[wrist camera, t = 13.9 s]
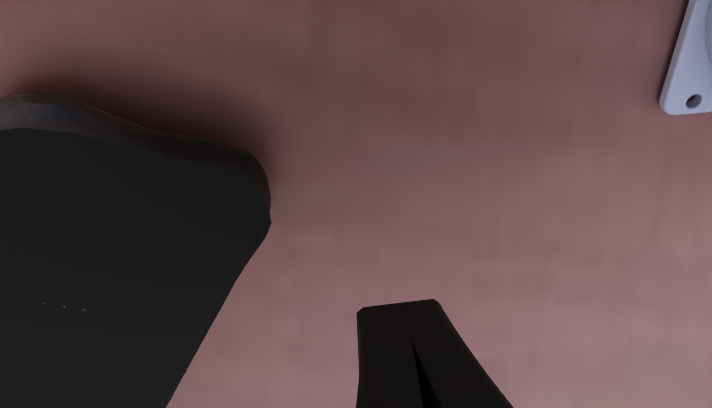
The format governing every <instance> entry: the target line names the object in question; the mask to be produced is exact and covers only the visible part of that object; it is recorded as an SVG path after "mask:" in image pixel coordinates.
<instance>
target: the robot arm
mask: <svg viewBox="0 0 712 408" xmlns="http://www.w3.org/2000/svg"><path fill="white" fill-rule="evenodd" d="M692 95H695V96H694V98H693V99H692V100H691V101H690V102H687V100H688V98H690V97H691V96H692ZM686 102H687V103H686ZM659 105H660V107H661V109H663V110H664V111H665V112H666V113H667V114H669V115H684V114H696V113H708V112H712V0H689V3H688V6H687V10H686V13H685V16H684V20H683V23H682V26H681V30H680V33H679V36H678V40H677V43H676V46H675V50H674V53H673V56H672V59H671V63H670V66H669V69H668V73H667V76H666V79H665V83H664V86H663V89H662V93H661V96H660V100H659ZM357 333H358V357H359V385H358V394H357V403H356V408H513V406H512V405H511V404H510V403H509V401H508V400H507V399H506V398H505V396H504V395H503V394H502V392H501V391H500V390H499V389H498V387H497V386H496V385H495V384H494V382H493V381H492V380H491V379H490V377H489V376H488V375H487V373H486V372H485V371H484V369H483V368H482V366H481V365H480V364H479V362H478V361H477V360H476V358H475V357H474V355H473V354H472V353H471V351H470V350H469V348H468V347H467V346H466V344H465V343H464V341H463V340H462V338H461V337H460V335H459V334H458V332H457V331H456V329H455V328H454V326H453V325H452V323H451V322H450V320H449V318H448V317H447V315H446V314H445V312H444V310H443V309H442V307H441V305H440V303H438V302H437V301H436V300H434V299H428V300H420V301H412V302H404V303H395V304H387V305H379V306H370V307H363V308H362V309H361V310H359V311H358V312H357Z"/></svg>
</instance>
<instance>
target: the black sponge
mask: <svg viewBox="0 0 712 408" xmlns="http://www.w3.org/2000/svg"><path fill="white" fill-rule="evenodd" d="M270 208H271V195H270V190H269V185H268V180H267V177H266V175H265V172H264V170H263V168H262V166H261V164H260V163H259V161H258V160H257V159H256V158H255V157H254V156H253V155H251V154H250V153H248V152H246V151H244V150H242V149H238V148H235V147H231V146H228V145H225V144H222V143H219V142H217V141H214V140H212V139H206V138H201V137H196V136H190V135H185V134H179V133H173V132H166V131H159V130H154V129H151V128H148V127H144V126H141V125H137V124H135V123H133V122H131V121H129V120H127V119H124V118H121V117H118V116H115V115H113V114H110V113H107V112H105V111H102V110H100V109H97V108H95V107H93V106H91V105H89V104H87V103H85V102H83V101H81V100H80V99H78V98H76V97H75V96H73V95H69V94H65V93H31V94H15V95H8V96H6V97H4V98H2V99H0V408H166V406H167V404H168V403H169V401H170V399H171V397H172V396H173V394H174V392H175V390H176V388H177V386H178V384H179V382H180V381H181V379H182V377H183V375H184V374H185V372H186V370H187V368H188V366H189V365H190V363H191V361H192V359H193V357H194V356H195V354H196V352H197V350H198V348H199V346H200V345H201V343H202V341H203V339H204V337H205V336H206V334H207V332H208V330H209V328H210V327H211V325H212V323H213V321H214V320H215V318H216V316H217V314H218V313H219V311H220V309H221V307H222V305H223V303H224V302H225V300H226V298H227V296H228V294H229V292H230V290H231V289H232V287H233V285H234V283H235V281H236V280H237V278H238V277H239V275H240V274H241V272H242V270H243V269H244V267H245V266H246V264H247V263H248V261H249V260H250V258H251V257H252V255H253V254H254V252H255V251H256V250H257V248H258V247H259V246H260V244H261V243H262V242H263V240H264V239H265V237H266V235H267V232H268V230H269V228H270V225H271V218H270V213H269V212H270Z"/></svg>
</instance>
